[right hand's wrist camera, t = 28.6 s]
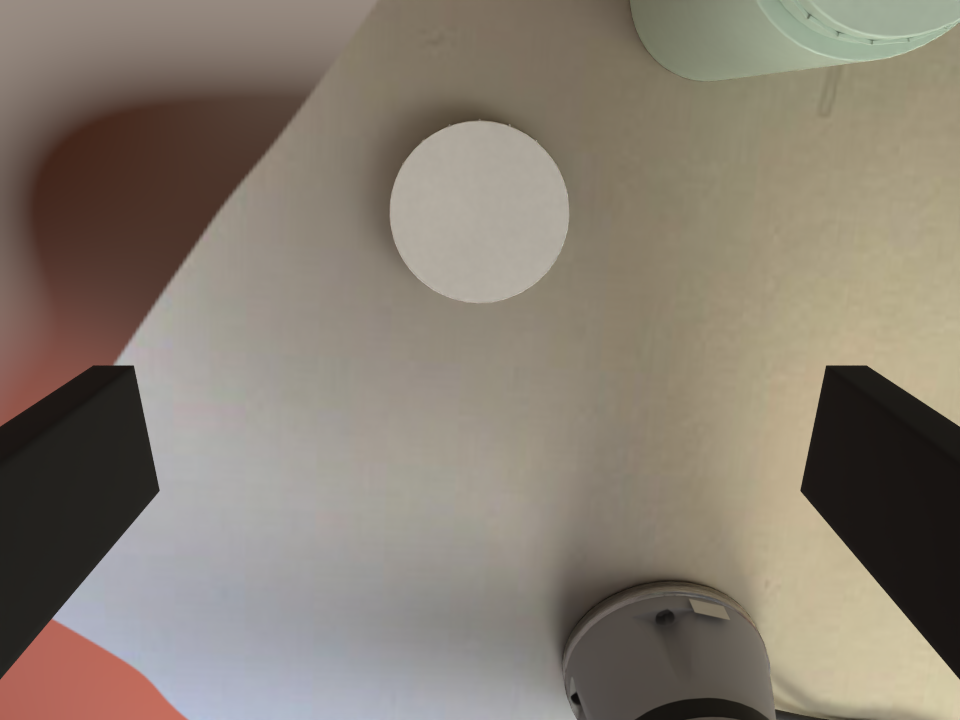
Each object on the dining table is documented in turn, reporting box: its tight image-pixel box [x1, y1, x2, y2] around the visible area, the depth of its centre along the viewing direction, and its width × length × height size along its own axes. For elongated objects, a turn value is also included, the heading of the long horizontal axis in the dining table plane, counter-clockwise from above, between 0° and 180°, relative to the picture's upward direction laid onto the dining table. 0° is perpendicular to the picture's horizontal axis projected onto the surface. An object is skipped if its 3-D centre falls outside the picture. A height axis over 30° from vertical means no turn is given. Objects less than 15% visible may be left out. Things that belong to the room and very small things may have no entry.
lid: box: [390, 119, 569, 303], centre depth 37 cm, size 10×10×2 cm
